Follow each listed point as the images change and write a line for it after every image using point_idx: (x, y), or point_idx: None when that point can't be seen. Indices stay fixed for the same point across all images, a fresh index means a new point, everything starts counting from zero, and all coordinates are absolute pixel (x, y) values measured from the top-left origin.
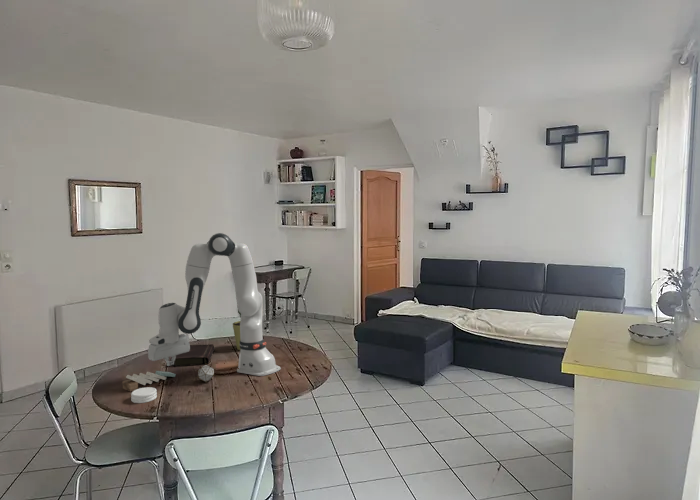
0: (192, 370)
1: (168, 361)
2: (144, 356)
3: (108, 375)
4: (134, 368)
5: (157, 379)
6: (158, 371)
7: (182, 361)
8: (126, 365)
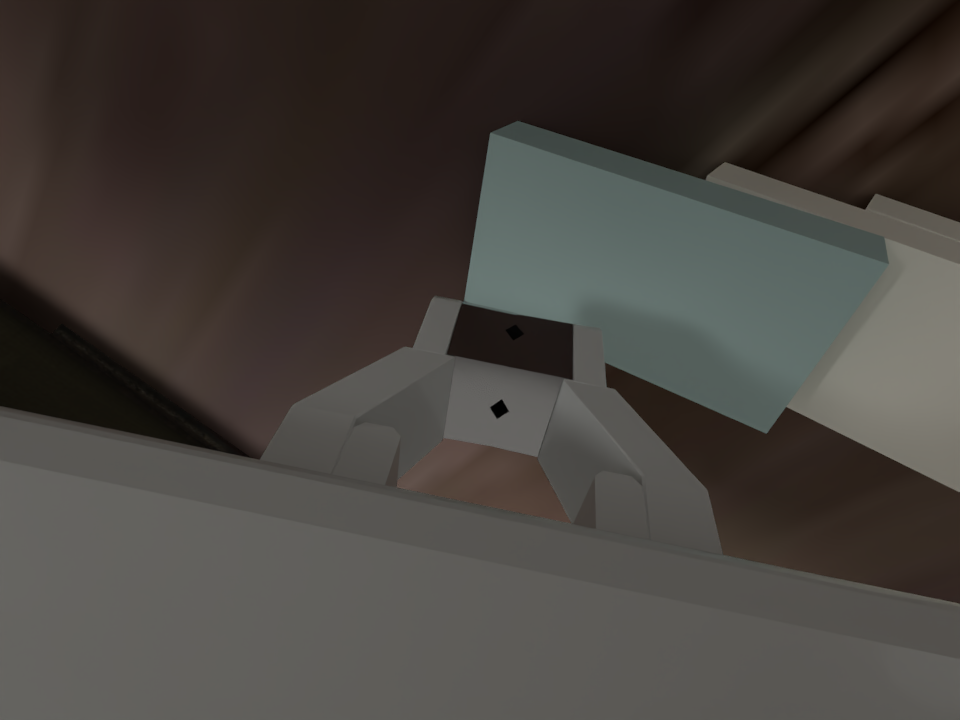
0: (100, 106)
1: (613, 412)
2: None
3: None
4: None
5: (915, 219)
6: (810, 365)
7: None
8: None
